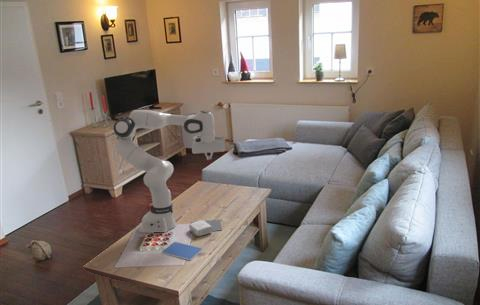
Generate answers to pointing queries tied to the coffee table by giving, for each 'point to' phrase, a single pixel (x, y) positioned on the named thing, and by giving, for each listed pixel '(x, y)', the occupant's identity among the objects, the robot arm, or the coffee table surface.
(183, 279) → the coffee table surface
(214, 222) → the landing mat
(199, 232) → the photo printer
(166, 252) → the tablet computer
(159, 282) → the coffee table surface
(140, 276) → the coffee table surface
